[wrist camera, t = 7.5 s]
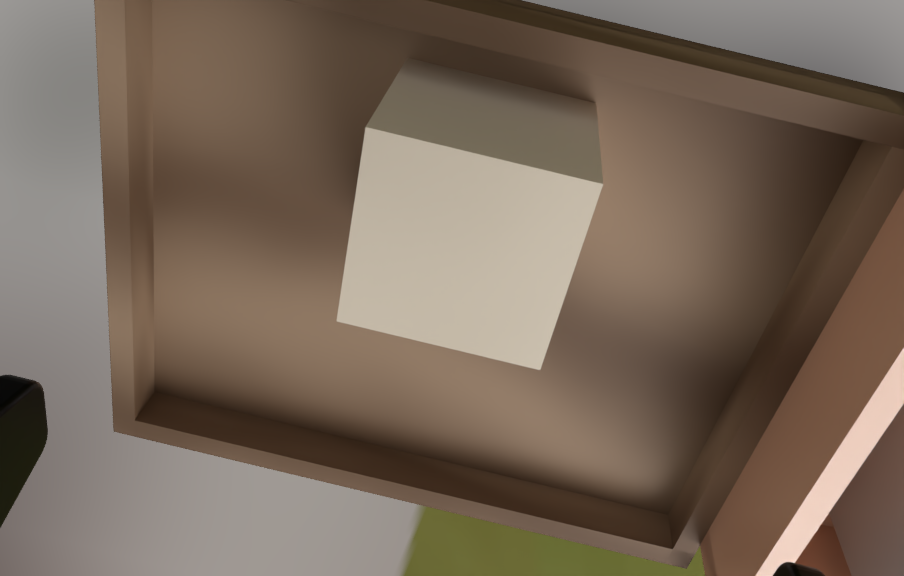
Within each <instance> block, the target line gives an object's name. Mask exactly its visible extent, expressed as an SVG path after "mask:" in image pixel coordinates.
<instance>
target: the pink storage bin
mask: <svg viewBox="0 0 904 576" xmlns="http://www.w3.org/2000/svg"><path fill="white" fill-rule="evenodd" d="M903 404H904V189H903V191H902V192H901V194H900V196H899V198H898V200H897V201H896V203H895V205H894V207H893V208H892V210H891V212H890V214H889V215H888V217H887V219H886V221H885V222H884V224H883V226H882V228H881V229H880V231H879V233H878V235H877V236H876V238H875V240H874V242H873V243H872V245H871V247H870V249H869V250H868V252H867V254H866V256H865V257H864V259H863V261H862V263H861V264H860V266H859V268H858V270H857V271H856V273H855V275H854V277H853V278H852V280H851V282H850V284H849V285H848V287H847V289H846V291H845V292H844V294H843V296H842V298H841V299H840V301H839V303H838V305H837V306H836V308H835V310H834V312H833V313H832V315H831V317H830V319H829V320H828V322H827V324H826V326H825V327H824V329H823V331H822V333H821V334H820V336H819V338H818V340H817V341H816V343H815V345H814V347H813V348H812V350H811V352H810V354H809V355H808V357H807V359H806V361H805V362H804V364H803V366H802V368H801V369H800V371H799V373H798V375H797V376H796V378H795V380H794V382H793V383H792V385H791V387H790V389H789V390H788V392H787V394H786V396H785V397H784V399H783V401H782V403H781V404H780V406H779V408H778V410H777V411H776V413H775V415H774V417H773V418H772V420H771V422H770V424H769V425H768V427H767V429H766V431H765V432H764V434H763V436H762V438H761V439H760V441H759V443H758V445H757V446H756V448H755V450H754V452H753V453H752V455H751V457H750V459H749V460H748V462H747V464H746V466H745V467H744V469H743V471H742V473H741V474H740V476H739V478H738V480H737V481H736V483H735V485H734V487H733V488H732V490H731V492H730V494H729V495H728V497H727V499H726V501H725V502H724V504H723V506H722V508H721V509H720V511H719V513H718V515H717V516H716V518H715V520H714V522H713V523H712V525H711V527H710V529H709V530H708V532H707V534H706V536H705V537H704V539H703V541H702V543H701V544H700V547H701V553H702V559H703V565H704V570H705V576H773V574H774V573H775V571H776V570H777V568H778V567H779V566H780V565H781V564H783V563H785V562H792V563H797V564H801V565H805V566H809V567H813V568H816V569H818V570H820V571H821V572H823V573H824V574H825V575H826V576H851V573H850V570H849V567H848V565H847V562H846V559H845V556H844V554H843V551H842V548H841V545H840V542H839V540H838V537H837V534H836V531H835V528H834V526H833V523H832V520H831V517H830V515H829V512H830V511H831V509H832V508H833V506H834V505H835V503H836V502H837V501H838V499H839V498H840V496H841V495H842V493H843V492H844V490H845V489H846V487H847V486H848V484H849V483H850V482H851V480H852V479H853V477H854V476H855V474H856V473H857V471H858V470H859V468H860V467H861V465H862V464H863V463H864V461H865V460H866V458H867V457H868V455H869V454H870V452H871V451H872V449H873V448H874V446H875V445H876V444H877V442H878V441H879V439H880V438H881V436H882V435H883V433H884V432H885V430H886V429H887V428H888V426H889V425H890V423H891V422H892V420H893V419H894V417H895V416H896V414H897V413H898V411H899V410H900V409H901V407H902V406H903Z"/></svg>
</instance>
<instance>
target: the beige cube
mask: <svg viewBox="0 0 904 576" xmlns="http://www.w3.org/2000/svg"><path fill="white" fill-rule="evenodd" d="M602 186H603V176H602V164H601V153H600V141H599V130H598V118H597V107H596V103H593V102H589V101H584V100H580V99H576V98H572V97H568V96H564V95H560V94H555V93H551V92H547V91H543V90H539V89H535V88H531V87H526V86H522V85H518V84H514V83H510V82H506V81H502V80H497V79H493V78H489V77H485V76H481V75H477V74H472V73H468V72H464V71H460V70H456V69H452V68H448V67H443V66H439V65H435V64H431V63H427V62H423V61H419V60H414V59H410V58H407V59H406V61H405V63H404V64H403V66H402V68H401V69H400V71H399V73H398V74H397V76H396V78H395V79H394V81H393V83H392V84H391V86H390V87H389V89H388V91H387V92H386V94H385V96H384V97H383V99H382V101H381V102H380V104H379V106H378V107H377V109H376V111H375V112H374V114H373V116H372V117H371V119H370V120H369V122H368V124H367V125H366V128H365V134H364V141H363V148H362V154H361V161H360V167H359V174H358V181H357V187H356V194H355V201H354V207H353V214H352V221H351V227H350V234H349V241H348V247H347V254H346V261H345V267H344V274H343V281H342V287H341V294H340V301H339V307H338V314H337V322H341V323H345V324H350V325H354V326H358V327H362V328H366V329H370V330H375V331H379V332H383V333H387V334H391V335H395V336H400V337H404V338H408V339H412V340H416V341H420V342H425V343H429V344H433V345H437V346H441V347H445V348H450V349H454V350H458V351H462V352H466V353H470V354H475V355H479V356H483V357H487V358H491V359H495V360H500V361H504V362H508V363H512V364H516V365H520V366H525V367H529V368H533V369H537V370H540V369H541V366H542V363H543V360H544V357H545V355H546V352H547V349H548V346H549V343H550V340H551V337H552V334H553V331H554V328H555V325H556V322H557V319H558V316H559V313H560V310H561V307H562V304H563V301H564V298H565V296H566V293H567V290H568V287H569V284H570V281H571V278H572V275H573V272H574V269H575V266H576V263H577V260H578V257H579V254H580V251H581V248H582V245H583V242H584V239H585V237H586V234H587V231H588V228H589V225H590V222H591V219H592V216H593V213H594V210H595V207H596V204H597V201H598V198H599V195H600V192H601V189H602Z"/></svg>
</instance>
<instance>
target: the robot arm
mask: <svg viewBox="0 0 904 576" xmlns="http://www.w3.org/2000/svg"><path fill="white" fill-rule="evenodd" d="M47 434H48V428H47V419H46V409H45V399H44V391H43V388H42V386H41V385H40V383H38V382H36V381H33V380H29V379H25V378H21V377H17V376H13V375H3V376H0V527H1V526H2V524H3V522H4V520H5V518H6V517H7V515H8V513H9V511H10V509H11V508H12V506H13V504H14V502H15V500H16V499H17V497H18V495H19V493H20V491H21V490H22V488H23V486H24V484H25V482H26V481H27V479H28V477H29V475H30V473H31V472H32V470H33V468H34V466H35V464H36V462H37V461H38V459H39V457H40V455H41V453H42V451H43V449H44V447H45V444H46V440H47ZM773 576H826V575H825V574H824V573H823V572H821V571H820V570H818V569H816V568H813V567H809V566H805V565H801V564H797V563H792V562H785V563H783V564H781V565H780V566H779V567H778V568H777V570H776V571H775V573H774V574H773Z"/></svg>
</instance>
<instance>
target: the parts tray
mask: <svg viewBox="0 0 904 576" xmlns="http://www.w3.org/2000/svg"><path fill="white" fill-rule="evenodd" d="M94 4H95V24H96V25H95V26H96V48H97V68H98V69H97V71H98V91H99V115H100V137H101V160H102V181H103V204H104V225H105V226H104V227H105V249H106V271H107V293H108V316H109V337H110V338H109V339H110V361H111V383H112V406H113V428H114V432H119V433H122V434H127V435H131V436H135V437H139V438H143V439H147V440H152V441H156V442H160V443H164V444H168V445H173V446H177V447H181V448H185V449H189V450H193V451H198V452H202V453H206V454H210V455H214V456H218V457H223V458H227V459H231V460H235V461H239V462H244V463H248V464H252V465H256V466H260V467H264V468H269V469H273V470H277V471H281V472H286V473H289V474H294V475H298V476H302V477H306V478H310V479H315V480H319V481H323V482H327V483H331V484H335V485H340V486H344V487H348V488H353V489H357V490H360V491H365V492H369V493H373V494H377V495H382V496H386V497H390V498H394V499H398V500H402V501H406V502H411V503H415V504H419V505H423V506H427V507H431V508H436V509H440V510H444V511H448V512H452V513H456V514H461V515H465V516H469V517H473V518H477V519H481V520H486V521H490V522H494V523H498V524H502V525H507V526H511V527H515V528H519V529H523V530H527V531H532V532H536V533H540V534H544V535H548V536H552V537H557V538H561V539H565V540H569V541H573V542H577V543H582V544H586V545H590V546H594V547H598V548H603V549H607V550H611V551H615V552H619V553H623V554H628V555H632V556H636V557H640V558H644V559H648V560H653V561H657V562H661V563H665V564H669V565H674V566H678V567H682V568H686V569H687V567H688V565H689V564H690V562H691V560H692V558H693V557H694V555H695V553H696V551H697V550H698V548H699V546H700V544H701V543H702V541H703V539H704V537H705V536H706V534H707V532H708V530H709V529H710V527H711V525H712V523H713V522H714V520H715V518H716V516H717V515H718V513H719V511H720V509H721V508H722V506H723V504H724V502H725V501H726V499H727V497H728V495H729V494H730V492H731V490H732V488H733V487H734V485H735V483H736V481H737V480H738V478H739V476H740V474H741V473H742V471H743V469H744V467H745V466H746V464H747V462H748V460H749V459H750V457H751V455H752V453H753V452H754V450H755V448H756V446H757V445H758V443H759V441H760V439H761V438H762V436H763V434H764V432H765V431H766V429H767V427H768V425H769V424H770V422H771V420H772V418H773V417H774V415H775V413H776V411H777V410H778V408H779V406H780V404H781V403H782V401H783V399H784V397H785V396H786V394H787V392H788V390H789V389H790V387H791V385H792V383H793V382H794V380H795V378H796V376H797V375H798V373H799V371H800V369H801V368H802V366H803V364H804V362H805V361H806V359H807V357H808V355H809V354H810V352H811V350H812V348H813V347H814V345H815V343H816V341H817V340H818V338H819V336H820V334H821V333H822V331H823V329H824V327H825V326H826V324H827V322H828V320H829V319H830V317H831V315H832V313H833V312H834V310H835V308H836V306H837V305H838V303H839V301H840V299H841V298H842V296H843V294H844V292H845V291H846V289H847V287H848V285H849V284H850V282H851V280H852V278H853V277H854V275H855V273H856V271H857V270H858V268H859V266H860V264H861V263H862V261H863V259H864V257H865V256H866V254H867V252H868V250H869V249H870V247H871V245H872V243H873V242H874V240H875V238H876V236H877V235H878V233H879V231H880V229H881V228H882V226H883V224H884V222H885V221H886V219H887V217H888V215H889V214H890V212H891V210H892V208H893V207H894V205H895V203H896V201H897V200H898V198H899V196H900V194H901V192H902V191H903V189H904V93H903V92H898V91H895V90H890V89H886V88H882V87H878V86H873V85H869V84H866V83H861V82H857V81H853V80H849V79H845V78H841V77H836V76H832V75H828V74H824V73H820V72H816V71H812V70H807V69H803V68H799V67H795V66H791V65H787V64H783V63H779V62H774V61H770V60H766V59H762V58H758V57H753V56H750V55H745V54H741V53H737V52H733V51H729V50H725V49H721V48H716V47H712V46H708V45H704V44H700V43H695V42H692V41H687V40H683V39H679V38H675V37H671V36H667V35H663V34H658V33H654V32H650V31H646V30H642V29H638V28H634V27H630V26H625V25H621V24H617V23H613V22H609V21H605V20H601V19H596V18H592V17H588V16H584V15H580V14H575V13H571V12H567V11H563V10H559V9H555V8H551V7H547V6H542V5H538V4H534V3H530V2H526V1H522V0H94ZM407 58H410V59H414V60H419V61H423V62H427V63H431V64H435V65H439V66H443V67H448V68H452V69H456V70H460V71H464V72H468V73H472V74H477V75H481V76H485V77H489V78H493V79H497V80H502V81H506V82H510V83H514V84H518V85H522V86H526V87H531V88H535V89H539V90H543V91H547V92H551V93H555V94H560V95H564V96H568V97H572V98H576V99H580V100H584V101H589V102H593V103H596V107H597V118H598V130H599V141H600V153H601V164H602V176H603V186H602V189H601V192H600V195H599V198H598V201H597V204H596V207H595V210H594V213H593V216H592V219H591V222H590V225H589V228H588V231H587V234H586V237H585V239H584V242H583V245H582V248H581V251H580V254H579V257H578V260H577V263H576V266H575V269H574V272H573V275H572V278H571V281H570V284H569V287H568V290H567V293H566V296H565V298H564V301H563V304H562V307H561V310H560V313H559V316H558V319H557V322H556V325H555V328H554V331H553V334H552V337H551V340H550V343H549V346H548V349H547V352H546V355H545V357H544V360H543V363H542V366H541V369H540V370H537V369H533V368H529V367H525V366H520V365H516V364H512V363H508V362H504V361H500V360H495V359H491V358H487V357H483V356H479V355H475V354H470V353H466V352H462V351H458V350H454V349H450V348H445V347H441V346H437V345H433V344H429V343H425V342H420V341H416V340H412V339H408V338H404V337H400V336H395V335H391V334H387V333H383V332H379V331H375V330H370V329H366V328H362V327H358V326H354V325H350V324H345V323H341V322H337V314H338V307H339V301H340V294H341V287H342V281H343V274H344V267H345V261H346V254H347V247H348V241H349V234H350V227H351V221H352V214H353V207H354V201H355V194H356V187H357V181H358V174H359V167H360V161H361V154H362V148H363V141H364V134H365V128H366V125H367V124H368V122H369V120H370V119H371V117H372V116H373V114H374V112H375V111H376V109H377V107H378V106H379V104H380V102H381V101H382V99H383V97H384V96H385V94H386V92H387V91H388V89H389V87H390V86H391V84H392V83H393V81H394V79H395V78H396V76H397V74H398V73H399V71H400V69H401V68H402V66H403V64H404V63H405V61H406V59H407Z"/></svg>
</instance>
